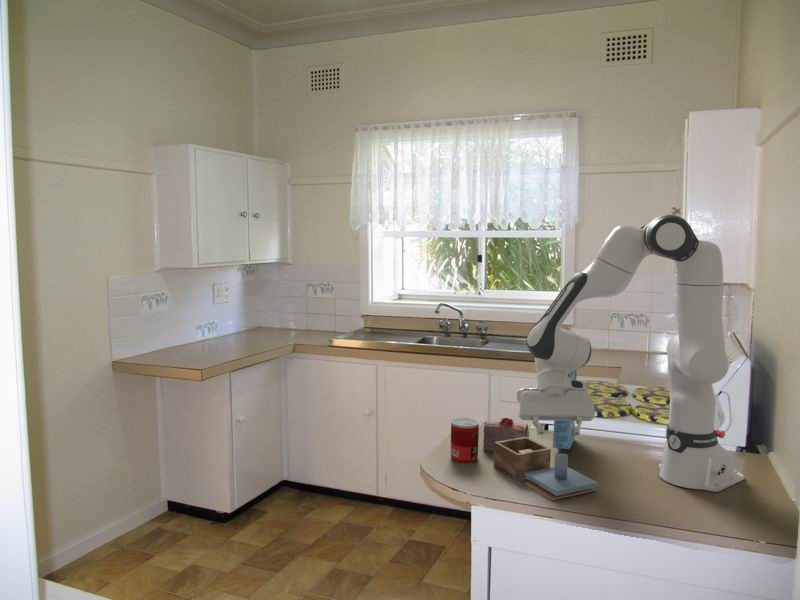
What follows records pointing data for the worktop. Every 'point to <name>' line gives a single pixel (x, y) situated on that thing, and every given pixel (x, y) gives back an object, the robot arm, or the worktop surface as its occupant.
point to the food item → (502, 432)
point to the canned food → (464, 440)
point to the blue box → (564, 428)
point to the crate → (520, 456)
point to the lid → (561, 478)
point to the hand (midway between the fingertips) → (558, 433)
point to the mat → (552, 496)
